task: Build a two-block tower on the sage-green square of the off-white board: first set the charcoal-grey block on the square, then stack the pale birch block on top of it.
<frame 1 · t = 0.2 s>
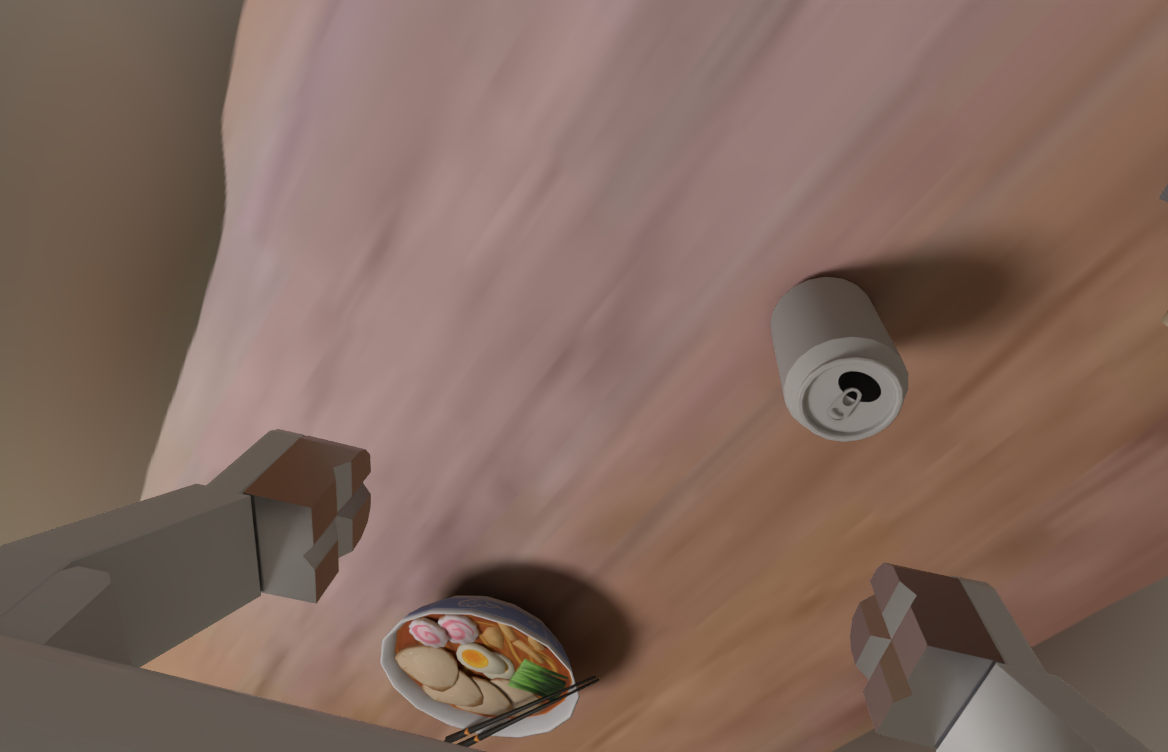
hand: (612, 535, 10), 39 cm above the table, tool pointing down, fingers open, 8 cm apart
can: (818, 316, 49), on the table
ramen bowl: (496, 621, 75), on the table
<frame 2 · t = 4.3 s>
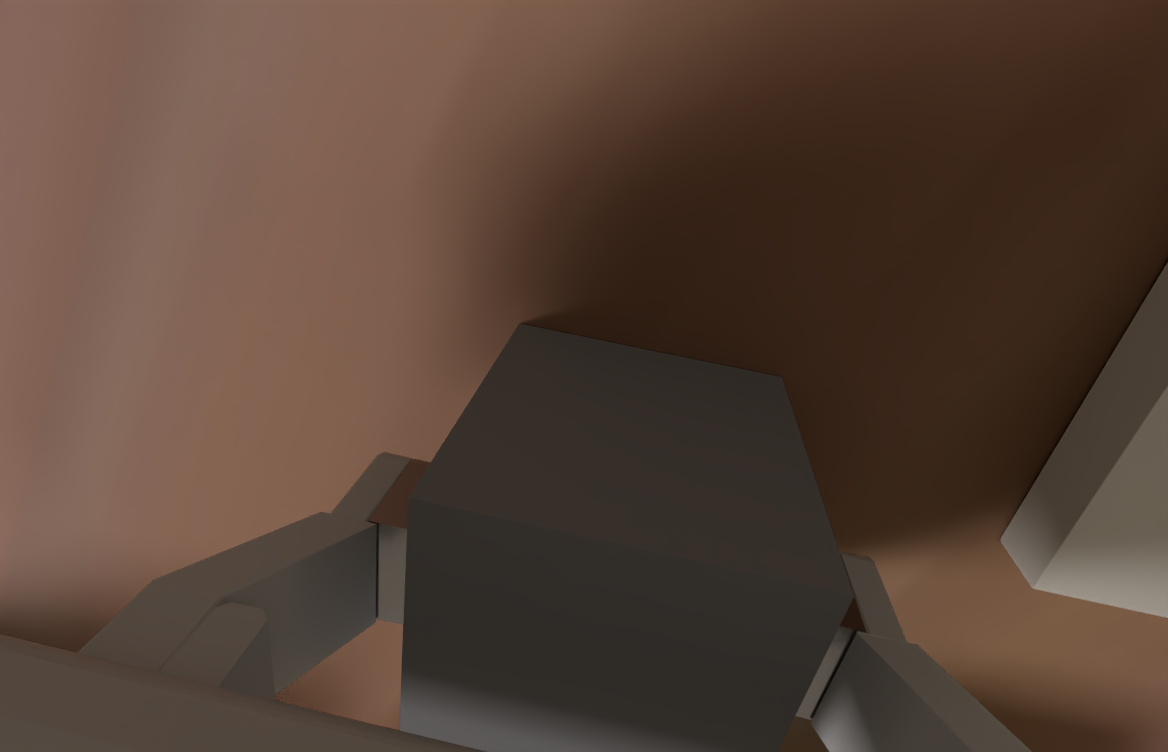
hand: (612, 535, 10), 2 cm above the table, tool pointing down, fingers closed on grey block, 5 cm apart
grey block: (624, 458, 12), on the table, touching gripper
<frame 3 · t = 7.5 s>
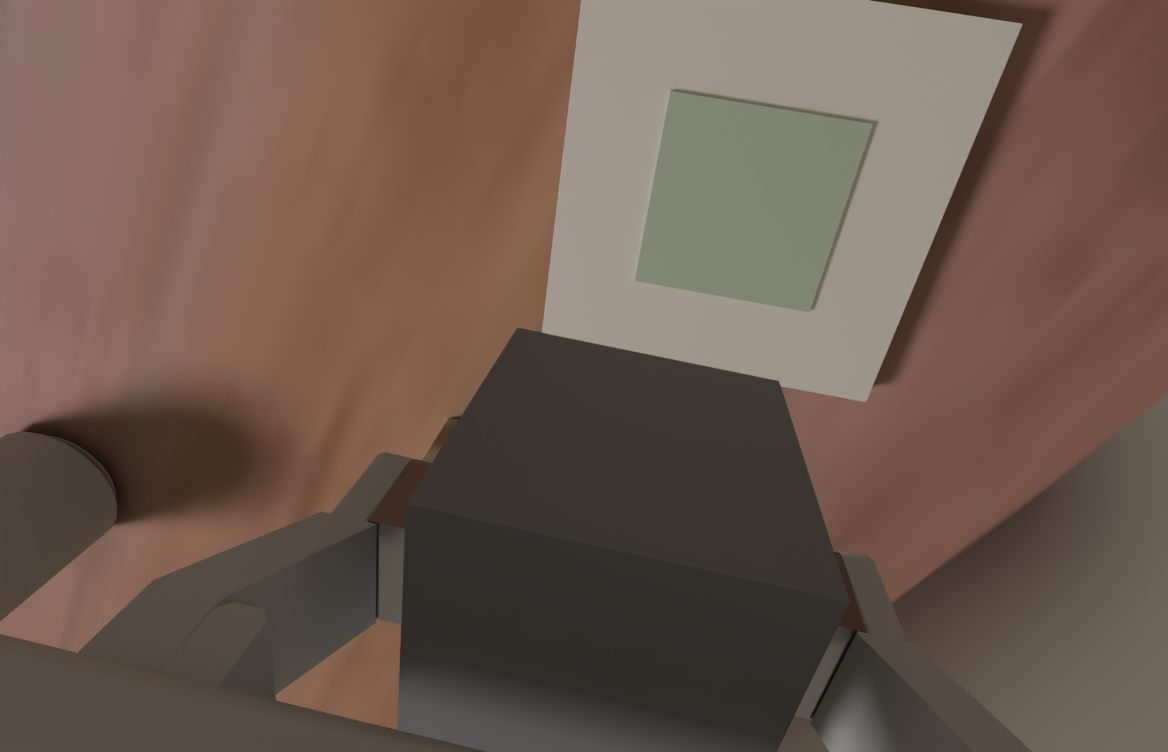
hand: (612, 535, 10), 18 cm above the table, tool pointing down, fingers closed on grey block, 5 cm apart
can: (71, 475, 37), on the table
birch block: (491, 463, 32), on the table
grey block: (622, 462, 12), point 16 cm above the table, touching gripper
build board: (741, 200, 24), on the table
when the fingers open (4 cm above the table, at t = 10.7 s): grey block stays where it is, resting on build board.
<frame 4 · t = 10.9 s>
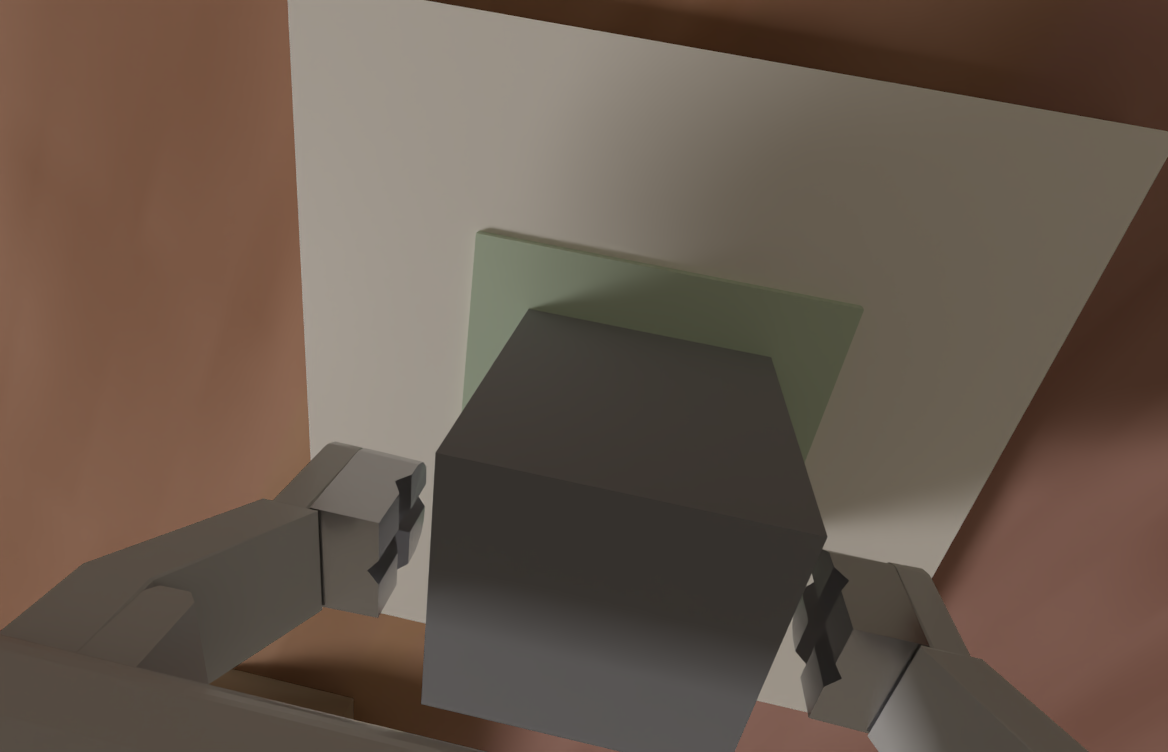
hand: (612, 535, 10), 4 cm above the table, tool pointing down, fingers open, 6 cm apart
birch block: (290, 724, 21), on the table
grey block: (625, 435, 13), point 1 cm above the table, touching build board
build board: (633, 402, 14), on the table
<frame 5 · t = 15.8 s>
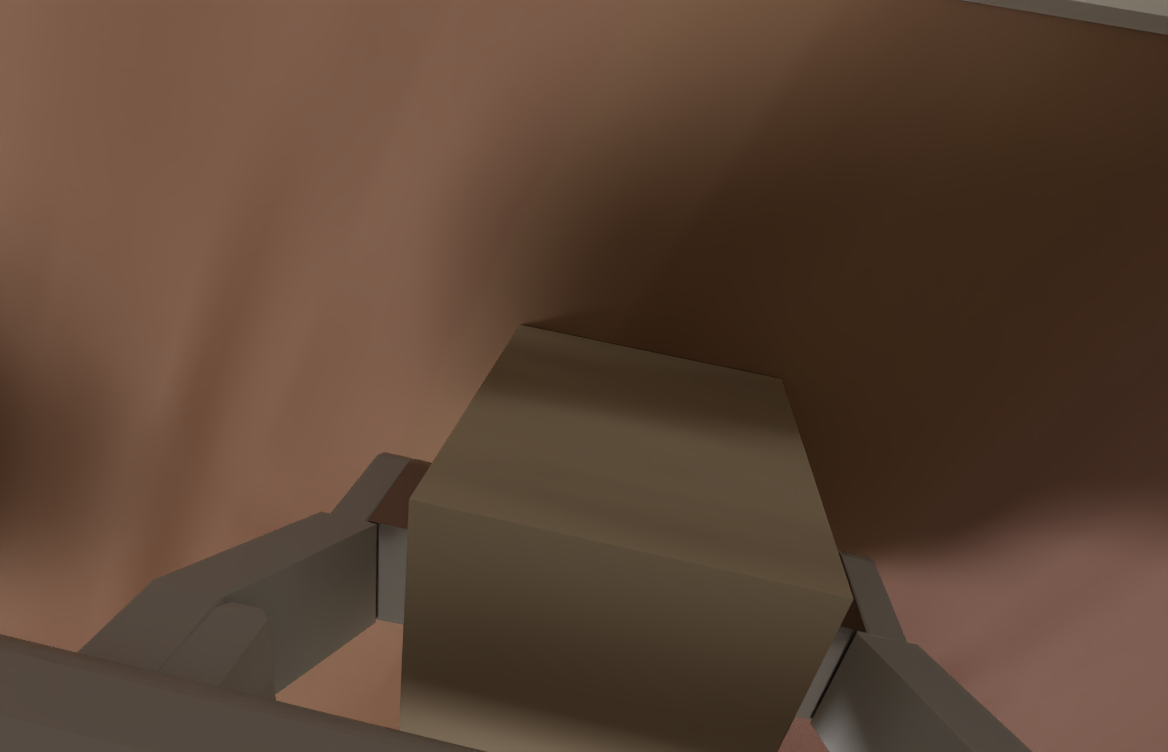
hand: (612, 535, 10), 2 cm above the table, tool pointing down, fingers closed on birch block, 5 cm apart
birch block: (624, 460, 12), on the table, touching gripper
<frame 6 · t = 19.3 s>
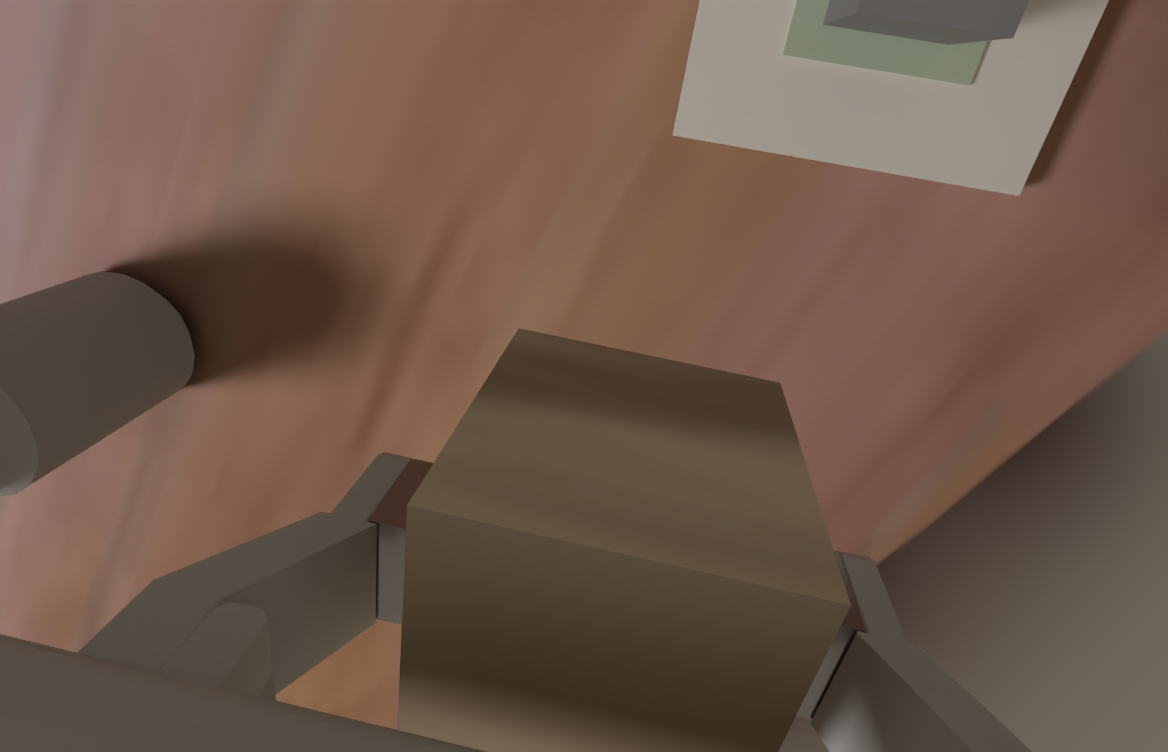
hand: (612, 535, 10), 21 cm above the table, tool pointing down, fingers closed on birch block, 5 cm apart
can: (145, 330, 35), on the table
birch block: (622, 463, 12), point 19 cm above the table, touching gripper
when the fingers open (9 cm above the table, at t = 23.1 s): birch block stays where it is, resting on grey block.
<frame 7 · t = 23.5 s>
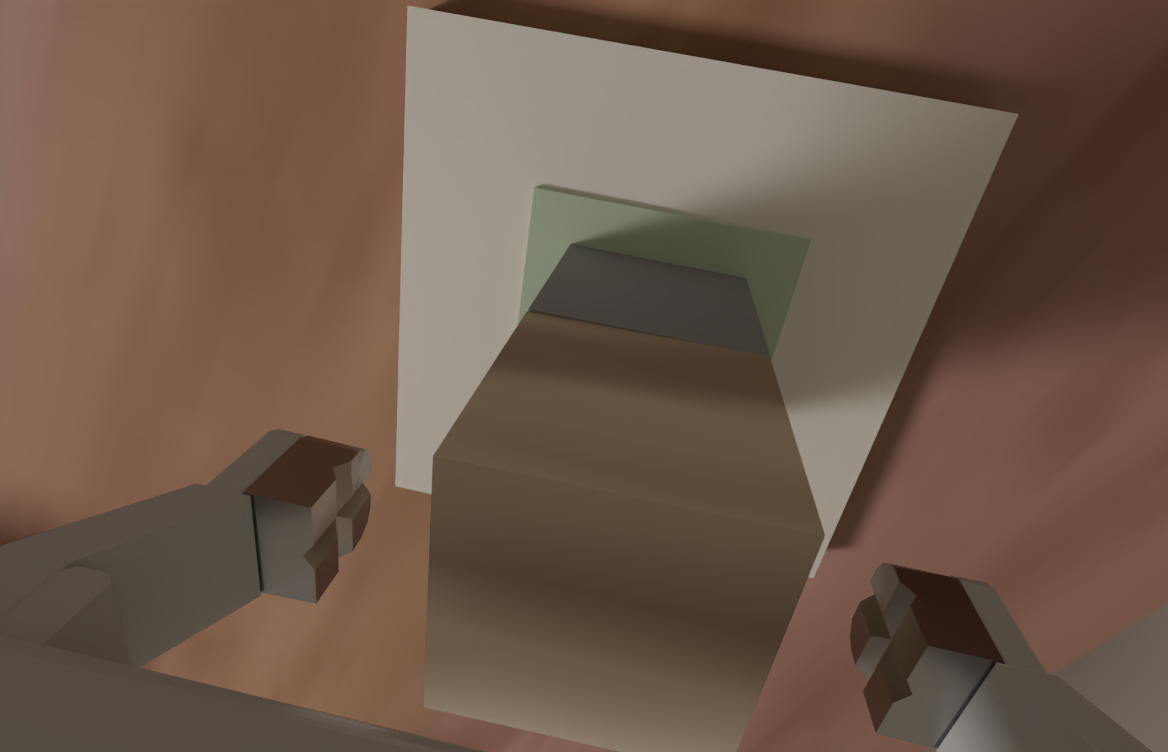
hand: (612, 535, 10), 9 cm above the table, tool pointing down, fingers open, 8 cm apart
birch block: (625, 436, 13), point 6 cm above the table, touching grey block
grey block: (640, 341, 17), point 1 cm above the table, touching birch block, build board
build board: (645, 322, 18), on the table
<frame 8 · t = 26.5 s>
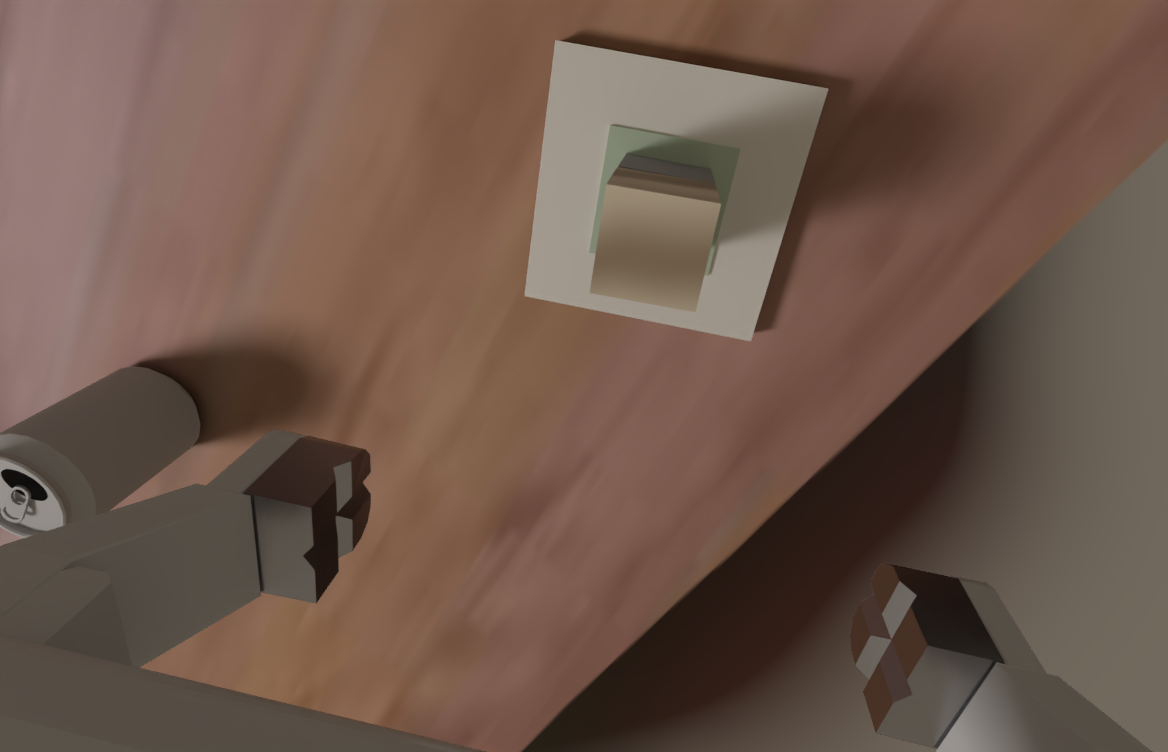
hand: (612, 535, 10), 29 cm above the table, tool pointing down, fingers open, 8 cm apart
can: (163, 404, 48), on the table
birch block: (656, 223, 30), point 6 cm above the table, touching grey block
grey block: (659, 203, 35), point 1 cm above the table, touching birch block, build board
build board: (661, 198, 36), on the table
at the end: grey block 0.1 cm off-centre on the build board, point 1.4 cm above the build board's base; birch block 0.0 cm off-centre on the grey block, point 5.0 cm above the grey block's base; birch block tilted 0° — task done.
